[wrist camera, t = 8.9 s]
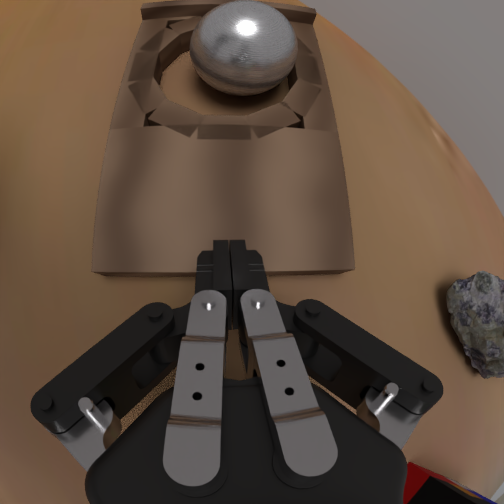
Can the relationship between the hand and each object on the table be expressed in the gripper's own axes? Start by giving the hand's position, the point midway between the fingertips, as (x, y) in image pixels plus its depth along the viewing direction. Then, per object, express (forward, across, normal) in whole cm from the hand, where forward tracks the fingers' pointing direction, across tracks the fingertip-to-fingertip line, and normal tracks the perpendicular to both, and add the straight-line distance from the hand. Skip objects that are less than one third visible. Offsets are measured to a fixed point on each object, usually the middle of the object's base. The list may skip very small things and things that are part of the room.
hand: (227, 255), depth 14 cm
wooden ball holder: (+12, 0, -4) cm, 13 cm away
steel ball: (+12, -1, -10) cm, 16 cm away
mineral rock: (0, -23, +8) cm, 25 cm away
